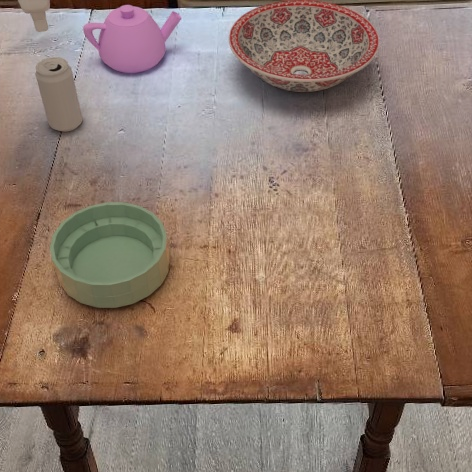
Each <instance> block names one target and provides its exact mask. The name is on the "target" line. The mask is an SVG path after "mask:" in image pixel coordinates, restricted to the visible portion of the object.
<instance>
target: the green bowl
mask: <svg viewBox="0 0 472 472" xmlns="http://www.w3.org/2000/svg"><path fill="white" fill-rule="evenodd" d="M49 251H50V256H51V262H52V264H53V267H54V270H55V274H56V277H57V280H58V283H59V285H60V286H61V288H62V289H63V290H64V292H65V293H66V294H67V296H69V297H70V298H72V299H74V300H75V301H77V302H78V303H80V304H83V305H86V306H90V307H93V308H97V309H116V308H121V307H125V306H130V305H134V304H136V303H137V302H139V301H141V300H143V299H146V298H148V297H149V296H151V295H152V294H153V293H154V292H155V291H156V290H157V289H159V287H161V286H162V285H163V283H164V282H165V280H166V277H167V275H168V274H169V270H170V261H171V258H170V251H169V241H168V234H167V232H166V228H165V225H164V223H163V222H162V221H161V220H160V219H159V217H158V216H157V215H156V214H155V213H154V212H152V211H151V210H148V209H146V208H145V207H143V206H141V205H138V204H133V203H129V202H126V201H125V202H124V201H121V202H120V201H108V202H101V203H97V204H92V205H88V206H86V207H83V208H81V209H80V210H76V211H75V212H73V213H72V214H71V215H69V216H68V217H67V218H65V219H64V220H63V221H62V222H61V223H60V224H59V225H58V227H57V228H56V229H55V231H54V232H53V234H52V236H51V241H50V245H49Z"/></svg>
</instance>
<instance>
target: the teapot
mask: <svg viewBox="0 0 472 472" xmlns="http://www.w3.org/2000/svg"><path fill="white" fill-rule="evenodd" d="M182 19H183V18H182V16H181V15H180V14H179V13H177V12H176V11H174V10H173V11H171V13H170V14H169V16H168V18H166V21H165V22H164V24H163V25H162V27H161V28H160V26H159V25H158V23H157V22H156V20H155V19H154V18H153V16H152V15H151V14H150V13H149V12H148V11H147V10H145V9H144V8H142V7H140V6H133V5H131V4H124V5H121V6H120V7H117V8H115V9H113V10H111V11H110V12H109V13H108V14H107V16H106V17H105V20H104V22H87V23H85V24H83V27H82V31H83V34H84V36H85V38H86V39H87V40H88V42H89V43H90V44H91V45H92V46H93V47H94V48H95V49H96V50H97V51H98V55H99V57H100V59H101V61H102V62H103V63H104V64H106V65H107V66H108V67H109V68H111V69H112V70H114V71H115V72H119V73H124V74H136V73H143V72H146V71H148V70H151V69H153V68H154V67H156V66H157V65H158V64H159V62H161V60H162V59H163V57H164V56H165V53H166V50H167V47H166V42H167V40H168V39H169V38H170V36H171V35H172V33H173V32H174V31H175V29H176V27H177V26H178V25H179V23H180V22H181V20H182ZM94 30H100V32H99V35H98V40H96V38H95V35H94V34H93V31H94Z"/></svg>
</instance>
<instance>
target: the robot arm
mask: <svg viewBox="0 0 472 472" xmlns="http://www.w3.org/2000/svg"><path fill="white" fill-rule="evenodd" d="M17 3H18V4H19V6H20V8H21V10H22V12H23V13H24V14H30V18H31V19H32V22H33V26H34V30H35V31H36V32H37V33H43V32H47V31H48V30H49V24H48V20H47V15H46V11H49V10H50V7H51V0H17Z"/></svg>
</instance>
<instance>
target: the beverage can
mask: <svg viewBox="0 0 472 472" xmlns="http://www.w3.org/2000/svg"><path fill="white" fill-rule="evenodd" d="M35 79H36V83H37V86H38V89H39V93H40V97H41V101H42V104H43V108H44V112H45V116H46V120H47V123H48V125H49V127H50V128H51V129H53V130H56V131H59V132H61V133H62V132H67V133H68V132H71V131H74V130H76V129H78V127H79V126H80V125H81V123H82V122H83V114H82V109H81V106H80V101H79V97H78V92H77V88H76V82H75V79H74V73H73V69H72V67H71V65H69V62H68V61H67V60H66V59H65V58H62V57H59V56H51V57H50V56H49V57H46V58H43V59H42V60H40V61H38V62H37V63H36V65H35Z"/></svg>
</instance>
